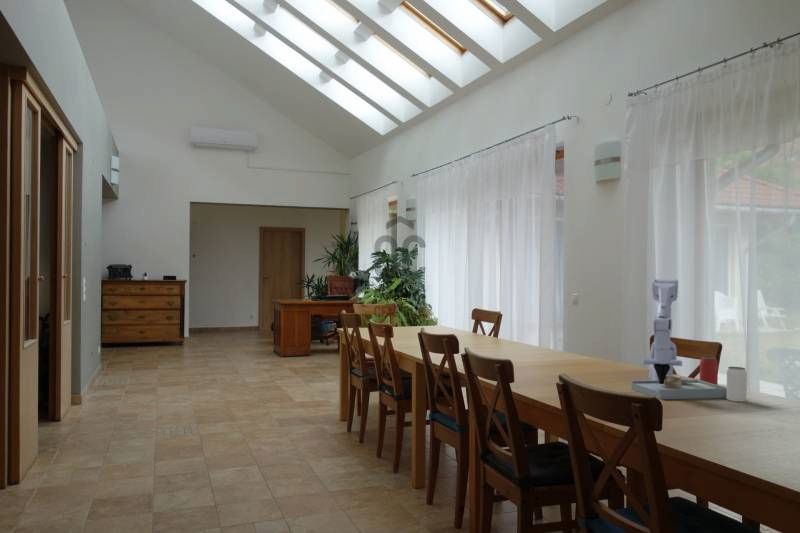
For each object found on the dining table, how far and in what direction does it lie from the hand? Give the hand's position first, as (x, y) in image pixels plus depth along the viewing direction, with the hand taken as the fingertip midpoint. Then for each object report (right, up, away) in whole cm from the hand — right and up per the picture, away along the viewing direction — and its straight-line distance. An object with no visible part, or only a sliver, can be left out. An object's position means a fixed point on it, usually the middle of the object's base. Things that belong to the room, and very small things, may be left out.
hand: (661, 383), depth 241 cm
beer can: (+26, -4, +15) cm, 30 cm away
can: (+22, -4, -12) cm, 26 cm away
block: (+4, -1, -1) cm, 4 cm away
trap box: (+6, -4, -1) cm, 7 cm away
